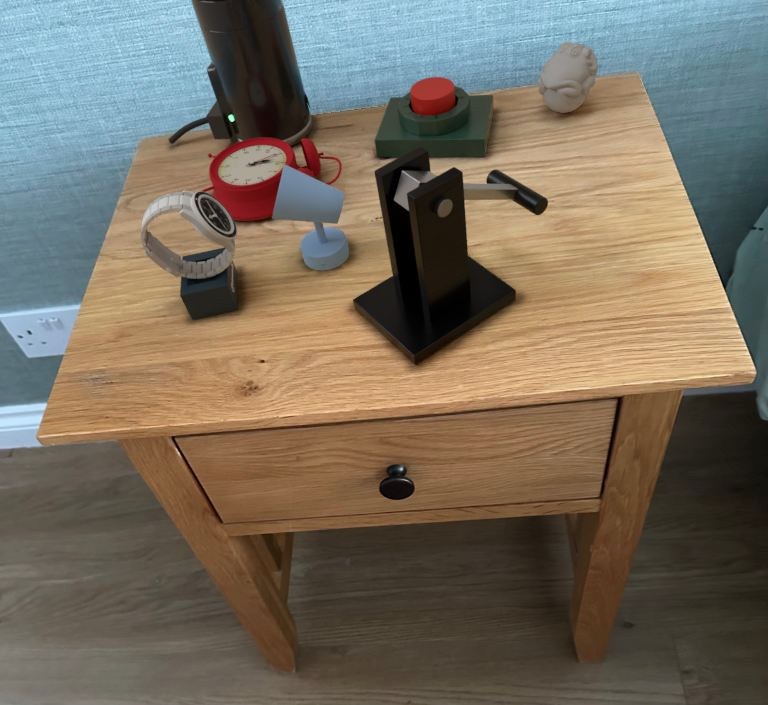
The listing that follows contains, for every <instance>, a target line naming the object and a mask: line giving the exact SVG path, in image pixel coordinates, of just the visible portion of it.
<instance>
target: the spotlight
mask: <svg viewBox="0 0 768 705" xmlns="http://www.w3.org/2000/svg"><path fill="white" fill-rule="evenodd" d="M344 202H345V192H344V191H342V190H341V189H338V188H336V187H334V186H332V185H327V184H325V182H323V181H321V180H319V179H316V178H313V177H310V176H308V175H306V174H304V173H302V172H300V171H298V170H296V169H294V168H291V167H289V166H287V165H285V164H284V167H283V171H282V176H281V180H280V184H279V189H278V193H277V198H276V202H275V207H274V211H273V216H271V219H272V220H281V221H297V222H307V223H309V222H310V223H313V225H314V229H313V230H311V231H309V232H308V233H307V234H305V235H304V236H303V238H302V239H301V240H300V245H299V246H300V251H301V255H302V259H303V260H304V264H305V265H306V266H307V267H308V268H310V269H312V270H314V271H330V270H333V269H336V268H338V267H340V266H341V265H343V264H344V263H345V262H346V261H347V260H348V258H349V255H350V248H349V244H348V239H347V236H346V233H345V232H344V231H343V230H342V229H340V228H337V227H333V226H324V224H332V225H333V224H335V225H338V223H339V221H340V218H341V214H342V210H343V206H344Z"/></svg>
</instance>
